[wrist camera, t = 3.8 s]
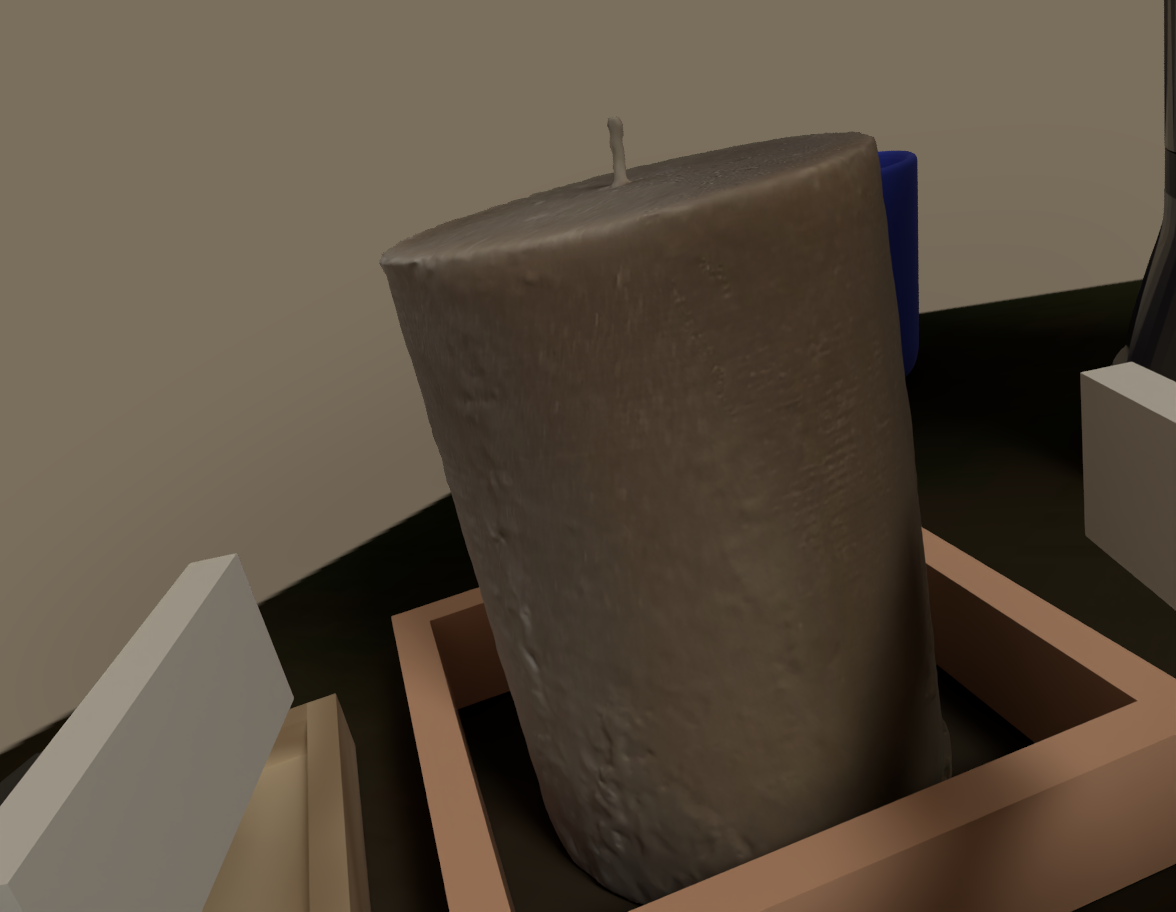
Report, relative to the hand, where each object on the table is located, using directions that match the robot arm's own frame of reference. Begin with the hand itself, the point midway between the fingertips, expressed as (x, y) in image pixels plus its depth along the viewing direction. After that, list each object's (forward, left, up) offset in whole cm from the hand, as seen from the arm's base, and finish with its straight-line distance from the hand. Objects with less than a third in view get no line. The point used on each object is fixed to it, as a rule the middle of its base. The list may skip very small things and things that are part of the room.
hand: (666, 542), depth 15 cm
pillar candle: (-2, -5, -9) cm, 11 cm away
